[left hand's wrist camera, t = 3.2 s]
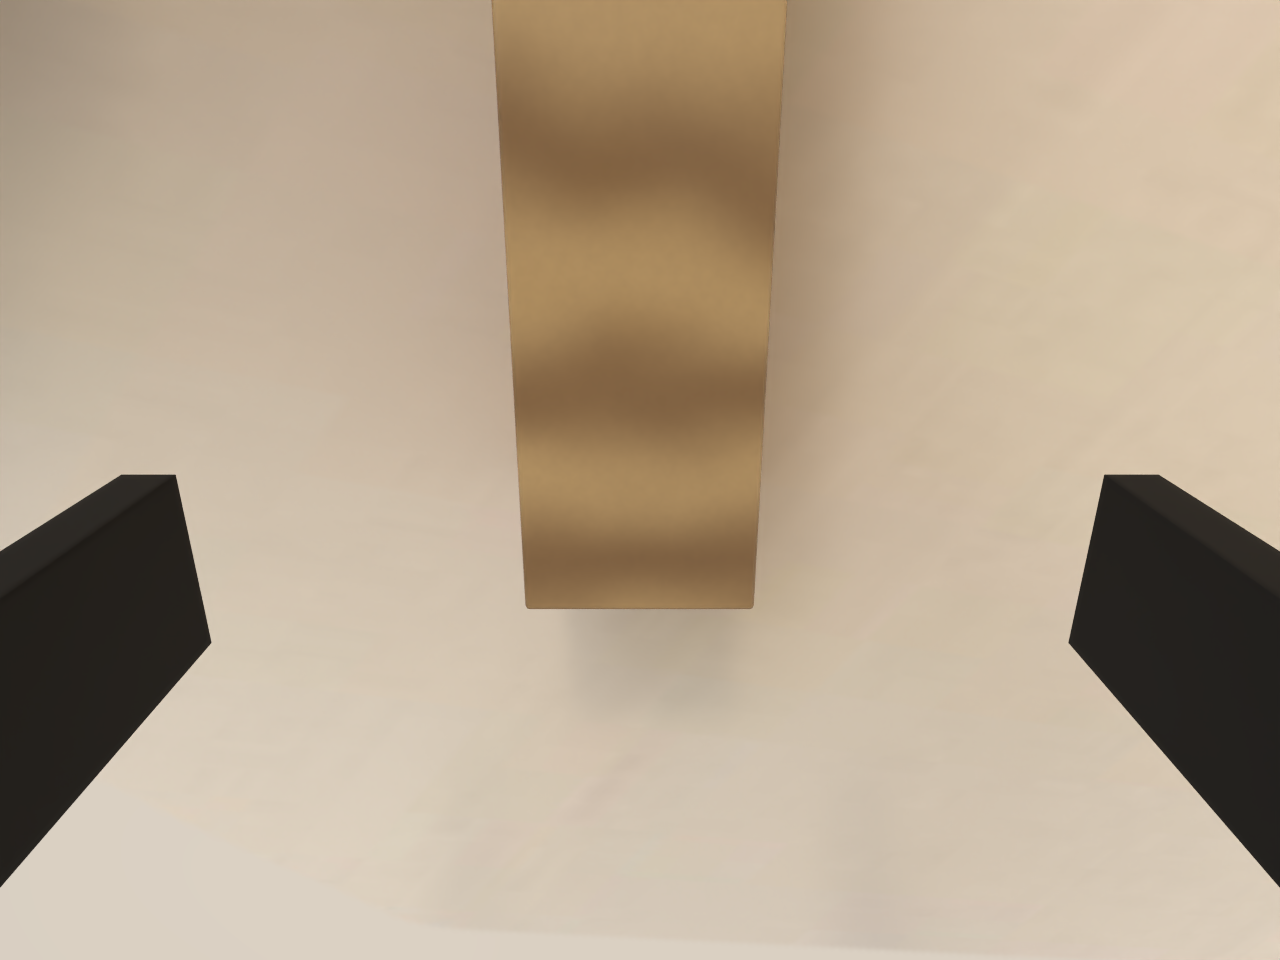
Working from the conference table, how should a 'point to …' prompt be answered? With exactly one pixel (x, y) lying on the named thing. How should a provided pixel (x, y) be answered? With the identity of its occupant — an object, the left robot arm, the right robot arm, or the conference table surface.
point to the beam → (639, 291)
